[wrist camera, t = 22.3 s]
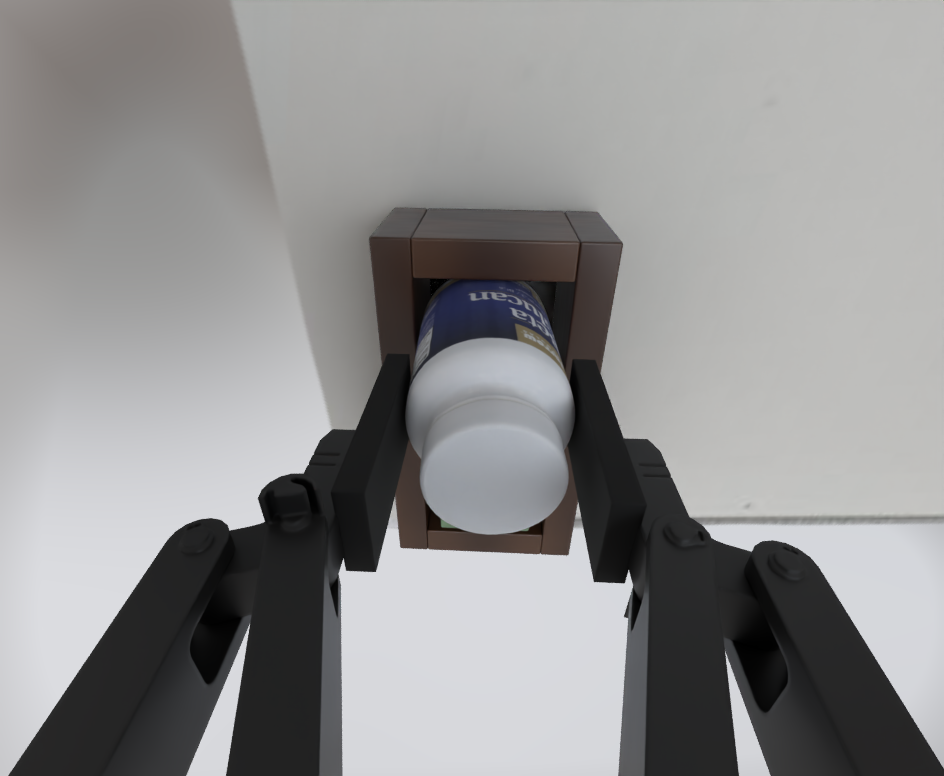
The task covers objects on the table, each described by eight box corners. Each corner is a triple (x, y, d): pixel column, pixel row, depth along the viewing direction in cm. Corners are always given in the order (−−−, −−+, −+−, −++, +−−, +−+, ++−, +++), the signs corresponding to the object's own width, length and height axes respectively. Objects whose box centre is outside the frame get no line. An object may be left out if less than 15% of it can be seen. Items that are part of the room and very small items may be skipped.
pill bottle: (564, 282, 20) (633, 428, 12) (524, 388, 23) (556, 565, 14) (436, 249, 19) (414, 381, 11) (411, 363, 22) (377, 535, 14)
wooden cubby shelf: (413, 483, 30) (400, 548, 26) (393, 207, 21) (368, 236, 17) (558, 489, 30) (568, 556, 26) (598, 211, 21) (623, 242, 17)
